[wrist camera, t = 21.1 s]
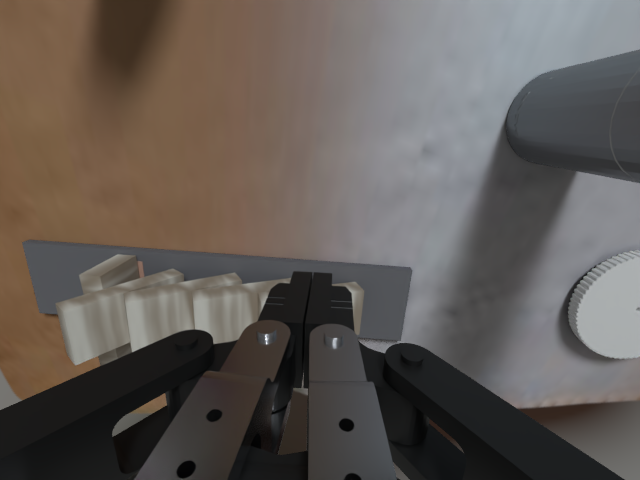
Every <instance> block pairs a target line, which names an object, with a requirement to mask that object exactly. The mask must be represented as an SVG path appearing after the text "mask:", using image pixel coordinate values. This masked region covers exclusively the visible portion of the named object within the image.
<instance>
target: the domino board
mask: <svg viewBox="0 0 640 480" xmlns="http://www.w3.org/2000/svg"><path fill="white" fill-rule="evenodd" d="M22 244H23V248H24V252H25V256H26V260H27V264H28V268H29V272H30V276H31V280H32V284H33V288H34V292H35V296H36V300H37V304H38V308H39V312H40V313H47V314H58V313H57V309H56V304H55V303H58V302H62V301H65V300H68V299H72V298H75V297H78V296H82V295H84V294H83V290H82V286H81V281H80V277H79V275H80V274H82V273H84V272H85V271H87V270H89V269H91V268H93V267H95V266H97V265H98V264H100V263H102V262H104V261H106V260H108V259H110V258H112V257H113V256H115V255H117V254H121V255H136V259H137V265H138V271H139V276H140V278H143V277H146V276H149V275H153V274H156V273H159V272H163V271H166V270H169V269H175V270H177V271H179V272H181V273H182V274H184V282H185V281H191V280H196V279H202V278H207V277H213V276H218V275H224V274H229V273H236V274H237V275H238V276H239V278H240V279H241V280H242V284H247V283H255V282H263V281H271V280H279V279H286V278H291V277H292V274H293V271H301V272H312V279H313V273H314V272H320V273H332V284H339V283H348V282H356V283H357V284H358V285H359V286H360V287H361V288H362V289H363V290H364V299H363V307H362V316H361V324H360V333H359V335H357V337H358V338H371V339H384V340H397V341H401V335H402V329H403V323H404V317H405V311H406V305H407V299H408V293H409V287H410V281H411V275H412V270H411V268H410V267H397V266H383V265H369V264H355V263H342V262H328V261H314V260H300V259H287V258H273V257H259V256H245V255H232V254H218V253H204V252H190V251H177V250H163V249H149V248H135V247H121V246H108V245H94V244H80V243H66V242H53V241H39V240H27V241H25V242H22Z"/></svg>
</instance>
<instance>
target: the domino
mask: <svg viewBox="0 0 640 480" xmlns="http://www.w3.org/2000/svg"><path fill="white" fill-rule="evenodd" d="M79 277H80V281H81V286H82V290H83V294H84V295H85V294H89V293H92V292H95V291H99V290H102V289H105V288H109V287H112V286H116V285H119V284H122V283H126V282H129V281H132V280H136V279H139V278H140V276H139V271H138V265H137V259H136V255H121V254H117V255H115V256H113V257H112V258H110V259H108V260H106V261H104V262H102V263H100V264H98V265H97V266H95V267H93V268H91V269H89V270H87V271H85V272H84V273H82V274H80V275H79ZM129 353H132V349H131V344H130V342H129V343H127V344H125V345H122V346H120V347H118V348H115V349H113V350H111V351H108V352H106V353H104V354H101V355H99V356H98V357H99V361H100V365H101V366H102V365H104V364H107V363H109V362H111V361H113V360H116V359H118V358H120V357H122V356H125V355H127V354H129Z"/></svg>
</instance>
